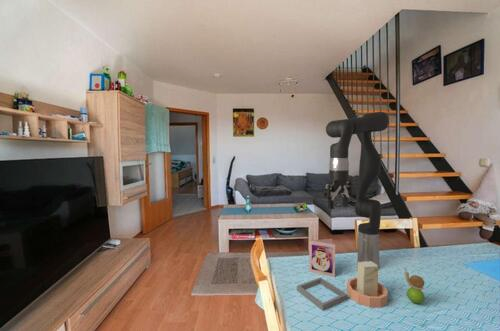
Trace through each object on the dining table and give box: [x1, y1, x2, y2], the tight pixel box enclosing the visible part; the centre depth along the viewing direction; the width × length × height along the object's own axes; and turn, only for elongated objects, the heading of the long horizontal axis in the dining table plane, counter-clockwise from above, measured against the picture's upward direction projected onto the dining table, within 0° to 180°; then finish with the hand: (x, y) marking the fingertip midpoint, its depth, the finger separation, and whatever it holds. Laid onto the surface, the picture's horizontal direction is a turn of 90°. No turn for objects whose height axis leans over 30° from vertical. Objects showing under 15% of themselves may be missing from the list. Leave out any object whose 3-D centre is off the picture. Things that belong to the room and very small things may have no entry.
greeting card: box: [308, 238, 336, 278], centre depth 111 cm, size 11×7×15 cm, turn 64°
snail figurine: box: [404, 267, 425, 305], centre depth 89 cm, size 5×6×12 cm
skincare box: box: [356, 261, 379, 296], centre depth 93 cm, size 6×4×12 cm
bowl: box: [346, 276, 388, 308], centre depth 93 cm, size 14×14×4 cm
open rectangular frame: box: [296, 277, 349, 312], centre depth 94 cm, size 13×14×2 cm
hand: (338, 207), depth 99 cm, fingers open, 8 cm apart
